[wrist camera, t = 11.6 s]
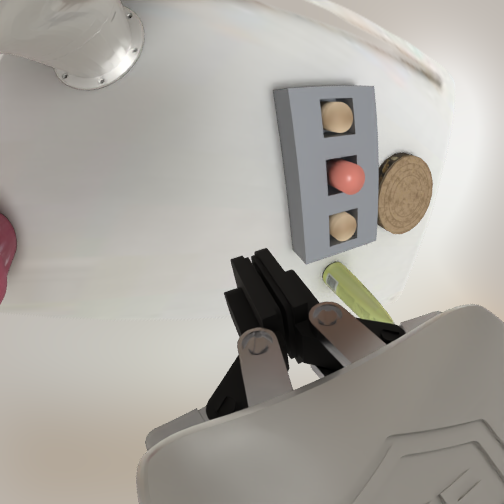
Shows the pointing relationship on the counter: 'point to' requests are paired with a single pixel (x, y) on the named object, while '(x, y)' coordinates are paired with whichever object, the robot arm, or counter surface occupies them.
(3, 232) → the plant pot
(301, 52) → the counter surface
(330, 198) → the knob panel
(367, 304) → the tube
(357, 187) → the knob red
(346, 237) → the knob
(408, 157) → the wood log slice
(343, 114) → the knob
